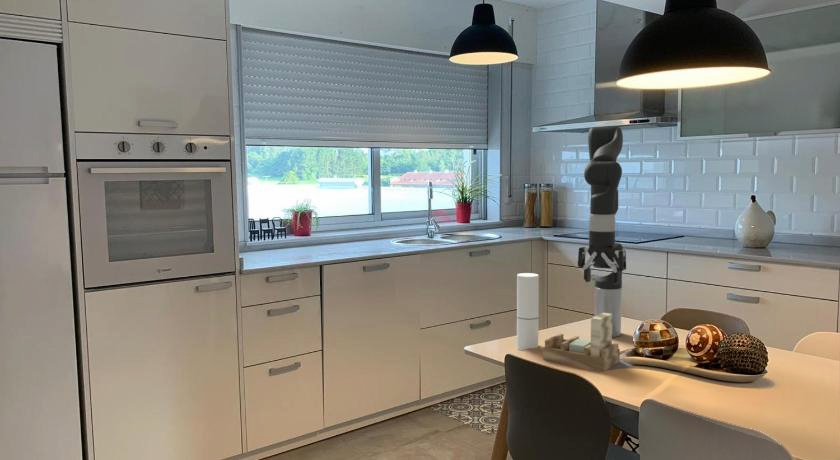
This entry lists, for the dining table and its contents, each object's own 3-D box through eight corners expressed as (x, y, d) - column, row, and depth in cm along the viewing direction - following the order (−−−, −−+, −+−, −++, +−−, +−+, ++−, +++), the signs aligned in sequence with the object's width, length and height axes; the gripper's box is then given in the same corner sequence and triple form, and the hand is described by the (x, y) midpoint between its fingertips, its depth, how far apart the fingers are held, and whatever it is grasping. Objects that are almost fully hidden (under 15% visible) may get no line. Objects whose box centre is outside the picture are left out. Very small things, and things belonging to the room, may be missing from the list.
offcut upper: (577, 347, 205) (577, 338, 205) (591, 349, 203) (592, 340, 202) (569, 352, 200) (569, 344, 199) (583, 355, 197) (583, 346, 197)
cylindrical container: (537, 345, 222) (537, 273, 220) (539, 351, 215) (539, 276, 213) (516, 345, 223) (516, 273, 220) (517, 351, 216) (517, 276, 213)
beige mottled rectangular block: (602, 360, 202) (603, 312, 200) (611, 361, 200) (612, 313, 198) (590, 367, 195) (591, 318, 193) (599, 369, 193) (600, 319, 192)
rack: (561, 353, 213) (562, 332, 212) (619, 364, 200) (619, 342, 200) (543, 363, 203) (543, 341, 202) (602, 375, 191) (602, 351, 190)
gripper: (630, 229, 192) (629, 283, 193) (585, 226, 201) (584, 278, 202) (620, 231, 186) (619, 287, 188) (574, 229, 195) (573, 282, 197)
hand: (601, 283), depth 195 cm, fingers open, 8 cm apart
